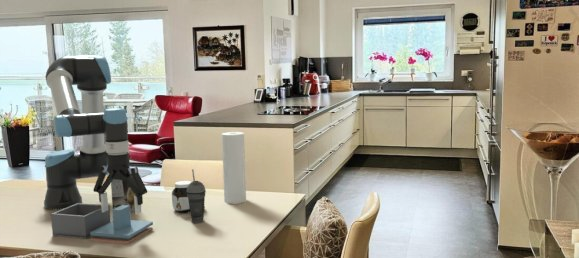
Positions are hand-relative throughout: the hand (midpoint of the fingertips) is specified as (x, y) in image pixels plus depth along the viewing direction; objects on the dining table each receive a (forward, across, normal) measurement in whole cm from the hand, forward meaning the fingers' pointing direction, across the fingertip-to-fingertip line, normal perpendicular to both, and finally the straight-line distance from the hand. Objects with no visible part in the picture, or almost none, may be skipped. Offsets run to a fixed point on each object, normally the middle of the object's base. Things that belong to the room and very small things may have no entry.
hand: (121, 212), depth 181 cm
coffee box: (+8, -16, +25) cm, 31 cm away
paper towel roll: (+8, +22, +50) cm, 55 cm away
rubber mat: (+8, 0, 0) cm, 8 cm away
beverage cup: (+8, +19, +20) cm, 29 cm away
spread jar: (+8, +9, +33) cm, 35 cm away
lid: (+7, 0, 0) cm, 7 cm away
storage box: (+8, -17, 0) cm, 19 cm away
